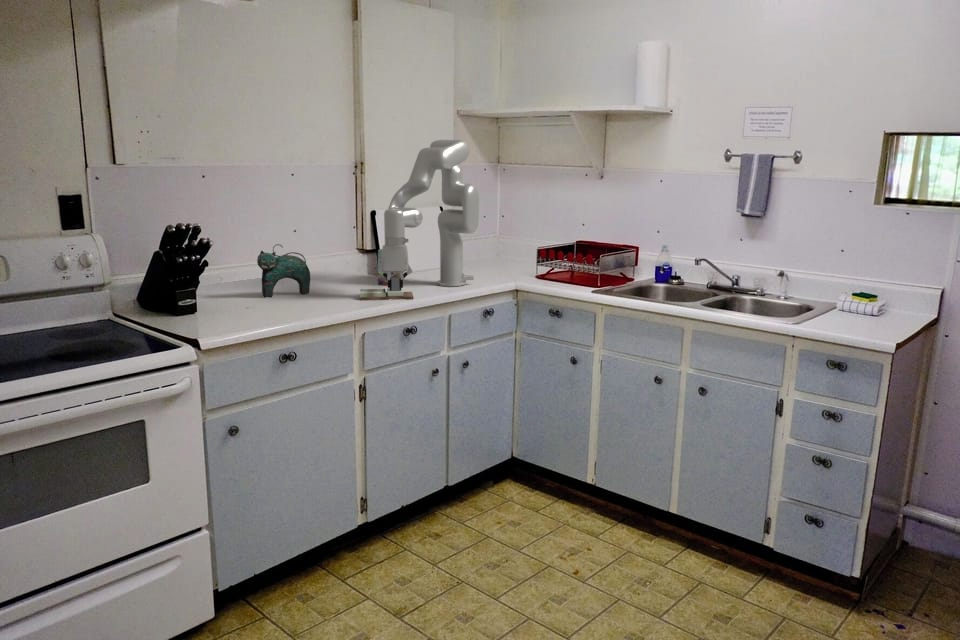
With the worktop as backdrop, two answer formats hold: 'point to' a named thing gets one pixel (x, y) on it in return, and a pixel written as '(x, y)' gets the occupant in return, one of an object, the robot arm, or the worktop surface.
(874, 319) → the worktop surface
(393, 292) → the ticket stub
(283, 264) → the ceramic cat
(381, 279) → the snack box
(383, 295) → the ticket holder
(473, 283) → the worktop surface
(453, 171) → the robot arm
